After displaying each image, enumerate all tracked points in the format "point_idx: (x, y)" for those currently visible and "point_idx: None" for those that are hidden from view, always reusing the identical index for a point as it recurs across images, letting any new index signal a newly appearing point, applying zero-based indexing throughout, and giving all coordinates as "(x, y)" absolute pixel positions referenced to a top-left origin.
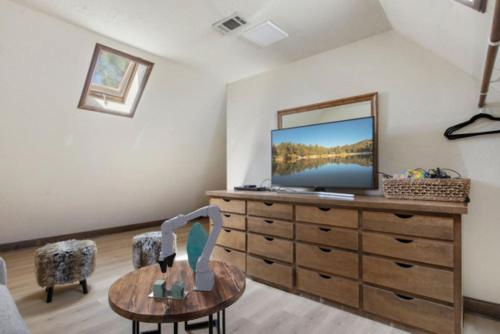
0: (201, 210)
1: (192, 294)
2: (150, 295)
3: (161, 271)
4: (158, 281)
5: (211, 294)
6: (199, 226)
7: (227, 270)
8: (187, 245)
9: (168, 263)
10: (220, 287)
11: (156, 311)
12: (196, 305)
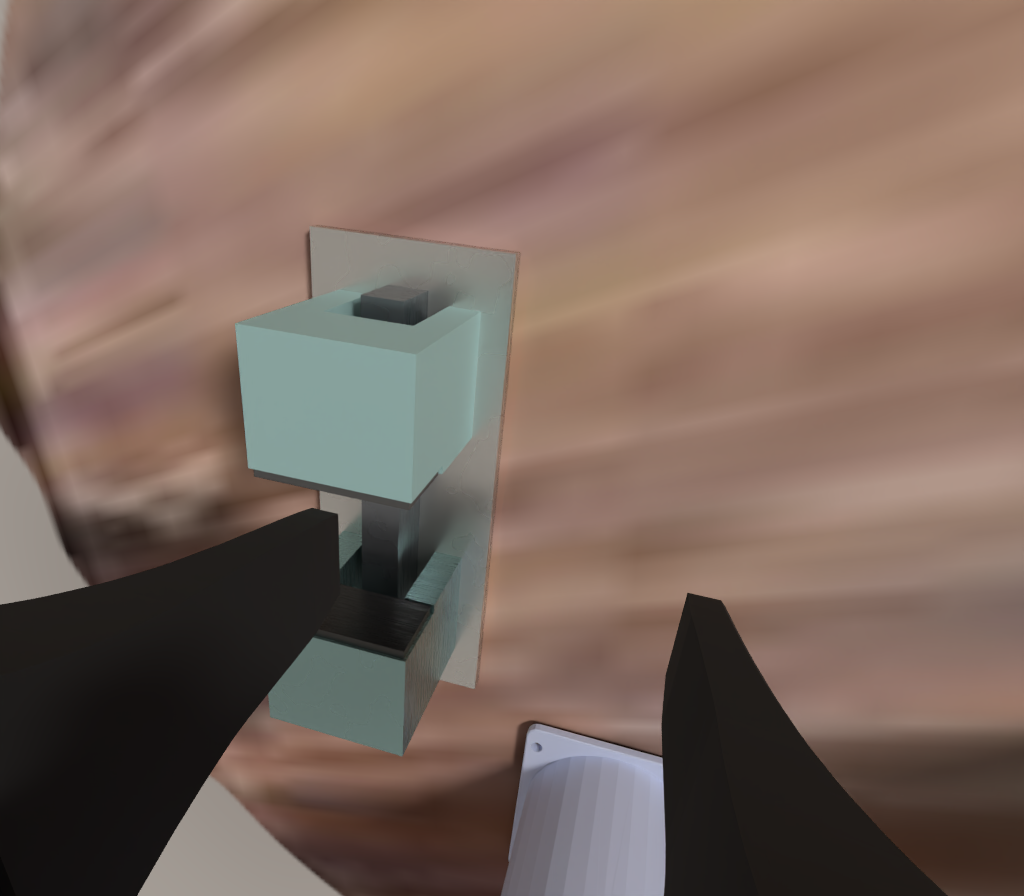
0: None
1: (438, 711)
2: (333, 252)
3: (283, 523)
4: (352, 389)
5: (450, 849)
6: None
7: None
8: None
9: (691, 687)
10: None
11: (79, 432)
12: (250, 733)
